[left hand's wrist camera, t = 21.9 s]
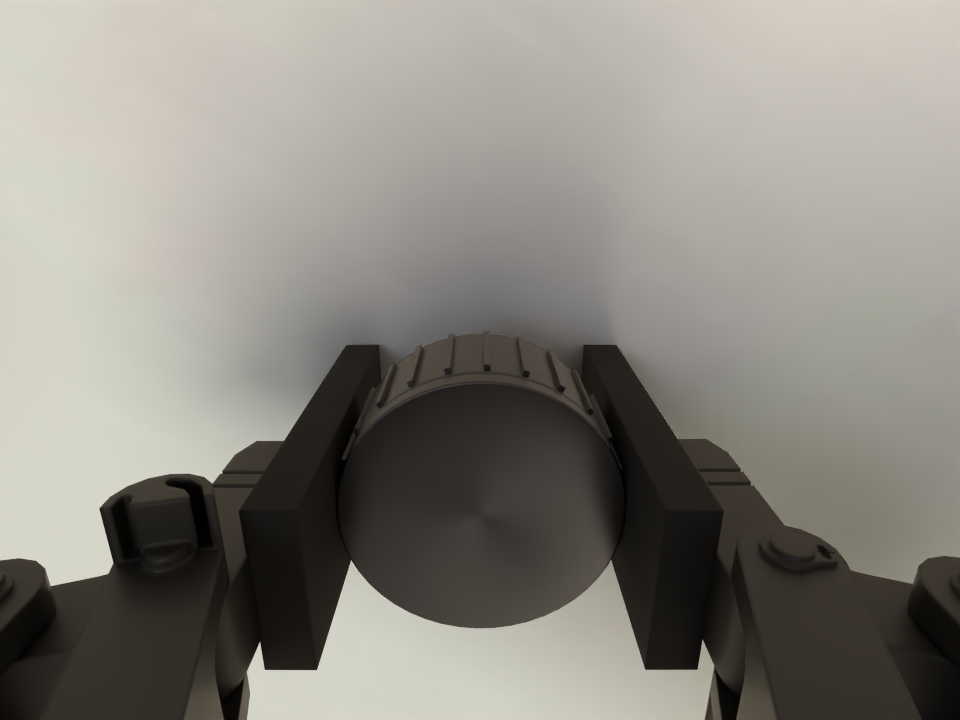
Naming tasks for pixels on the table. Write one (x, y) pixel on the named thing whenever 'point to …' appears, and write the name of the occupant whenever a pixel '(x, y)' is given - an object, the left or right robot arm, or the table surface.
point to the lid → (481, 484)
